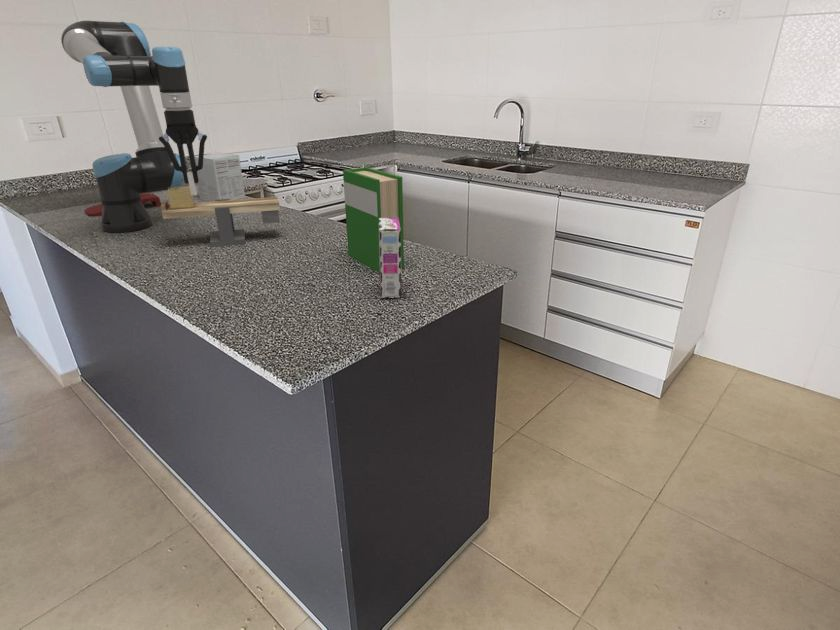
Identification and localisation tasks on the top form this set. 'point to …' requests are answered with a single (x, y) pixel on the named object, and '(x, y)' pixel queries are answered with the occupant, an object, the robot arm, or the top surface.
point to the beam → (264, 205)
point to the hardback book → (370, 211)
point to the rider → (180, 198)
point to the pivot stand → (226, 229)
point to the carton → (145, 198)
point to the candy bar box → (390, 257)
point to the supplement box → (220, 177)
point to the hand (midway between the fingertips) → (194, 194)
